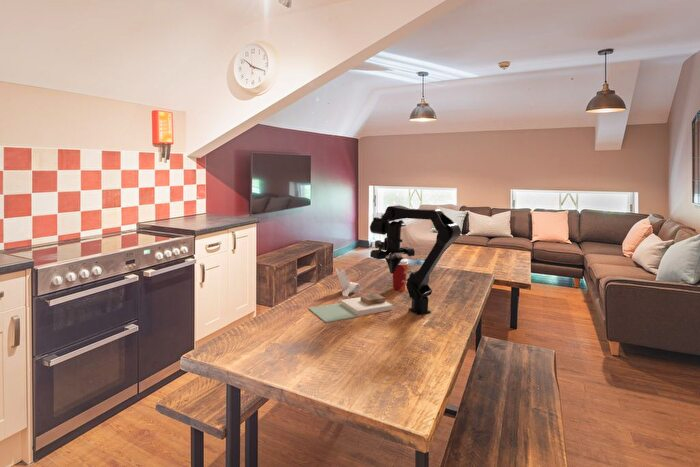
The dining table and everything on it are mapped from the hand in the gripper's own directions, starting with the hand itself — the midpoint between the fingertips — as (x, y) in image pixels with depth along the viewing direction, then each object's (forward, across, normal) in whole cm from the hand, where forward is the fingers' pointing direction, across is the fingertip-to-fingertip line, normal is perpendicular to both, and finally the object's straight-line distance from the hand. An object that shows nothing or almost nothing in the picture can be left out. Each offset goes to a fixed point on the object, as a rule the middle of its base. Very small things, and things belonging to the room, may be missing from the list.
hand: (391, 273), depth 171 cm
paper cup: (+13, -15, -15) cm, 25 cm away
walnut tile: (+11, +9, 0) cm, 14 cm away
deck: (+13, +12, 0) cm, 18 cm away
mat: (+13, +27, 0) cm, 30 cm away
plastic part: (+13, +9, -21) cm, 26 cm away
